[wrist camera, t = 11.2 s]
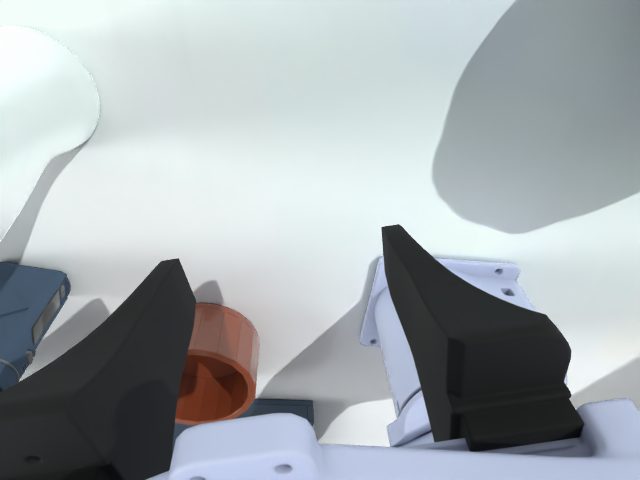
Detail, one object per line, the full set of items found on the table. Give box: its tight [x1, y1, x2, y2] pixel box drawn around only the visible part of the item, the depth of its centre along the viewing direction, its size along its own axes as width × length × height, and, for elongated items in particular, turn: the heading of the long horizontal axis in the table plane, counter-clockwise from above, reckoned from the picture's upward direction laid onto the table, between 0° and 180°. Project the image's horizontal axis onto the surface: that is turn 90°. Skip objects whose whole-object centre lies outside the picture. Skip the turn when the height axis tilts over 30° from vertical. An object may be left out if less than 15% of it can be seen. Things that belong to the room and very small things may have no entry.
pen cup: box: [175, 303, 259, 426], centre depth 30 cm, size 8×8×4 cm
